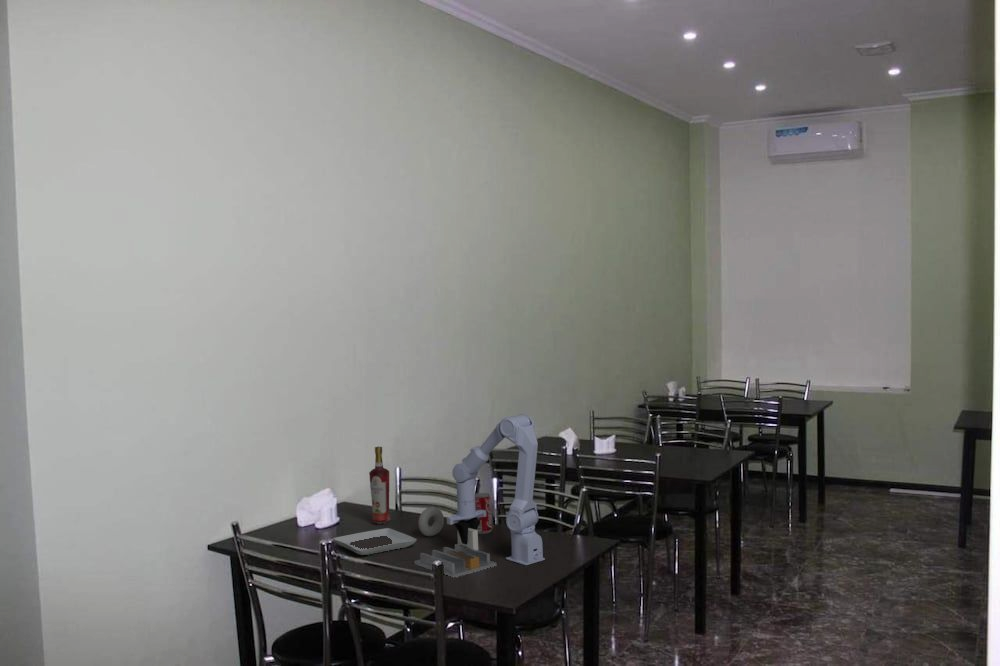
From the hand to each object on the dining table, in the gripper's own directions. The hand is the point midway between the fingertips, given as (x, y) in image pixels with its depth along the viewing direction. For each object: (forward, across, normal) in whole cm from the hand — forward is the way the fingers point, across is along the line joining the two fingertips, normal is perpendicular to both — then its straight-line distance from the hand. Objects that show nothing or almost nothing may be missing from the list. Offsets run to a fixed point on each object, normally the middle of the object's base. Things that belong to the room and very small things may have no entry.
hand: (467, 542), depth 272 cm
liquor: (+3, -1, -53) cm, 53 cm away
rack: (+3, +12, +9) cm, 15 cm away
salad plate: (+3, +18, -27) cm, 33 cm away
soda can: (+3, -18, -15) cm, 24 cm away
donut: (+3, -3, -24) cm, 24 cm away
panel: (+2, 0, 0) cm, 2 cm away
